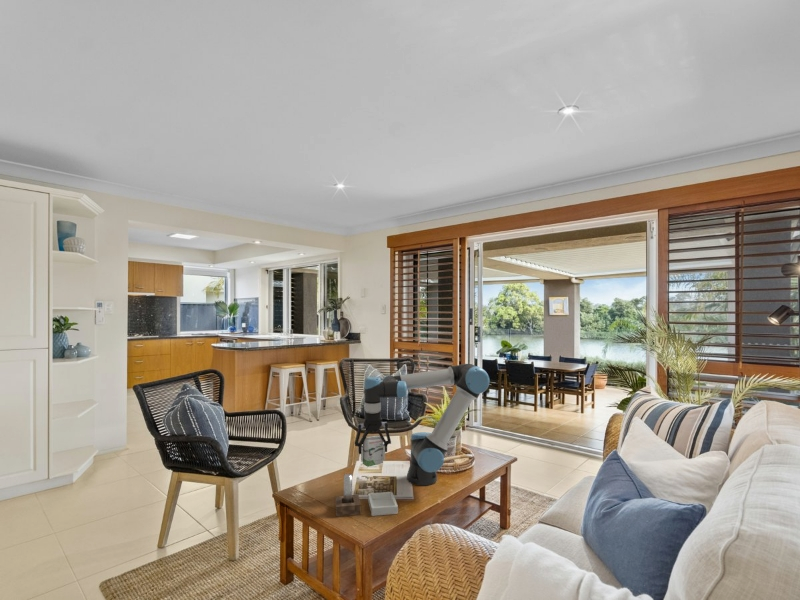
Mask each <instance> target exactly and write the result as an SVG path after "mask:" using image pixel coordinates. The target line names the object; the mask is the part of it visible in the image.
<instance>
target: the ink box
mask: <svg viewBox="0 0 800 600" xmlns="http://www.w3.org/2000/svg"><path fill="white" fill-rule="evenodd" d="M383 444H384V442H383V440H382V439H381V437H380V435H379V434H378V435H373V436H367V437H366V439H365V440H364V442H363V444H362V446H363V462H362V464H363V465H364V466H365V467H367V468H368V467H369V468H370V467H373V466H378V465H382V464H384V460H383Z"/></svg>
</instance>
